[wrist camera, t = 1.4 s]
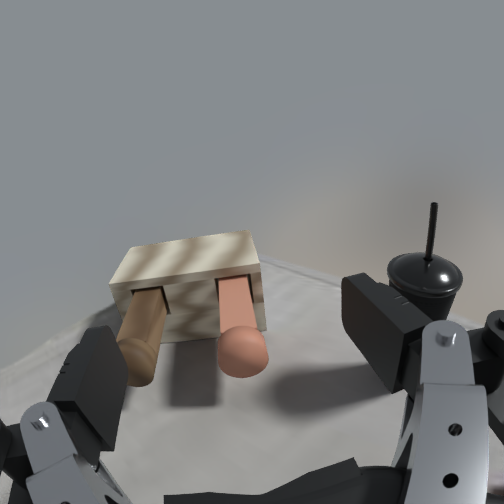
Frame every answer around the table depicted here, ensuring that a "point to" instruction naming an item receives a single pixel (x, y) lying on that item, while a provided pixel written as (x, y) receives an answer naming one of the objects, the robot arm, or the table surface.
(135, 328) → the walnut plug
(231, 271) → the socket block
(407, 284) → the drinking cup
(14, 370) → the table surface
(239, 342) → the terracotta plug
